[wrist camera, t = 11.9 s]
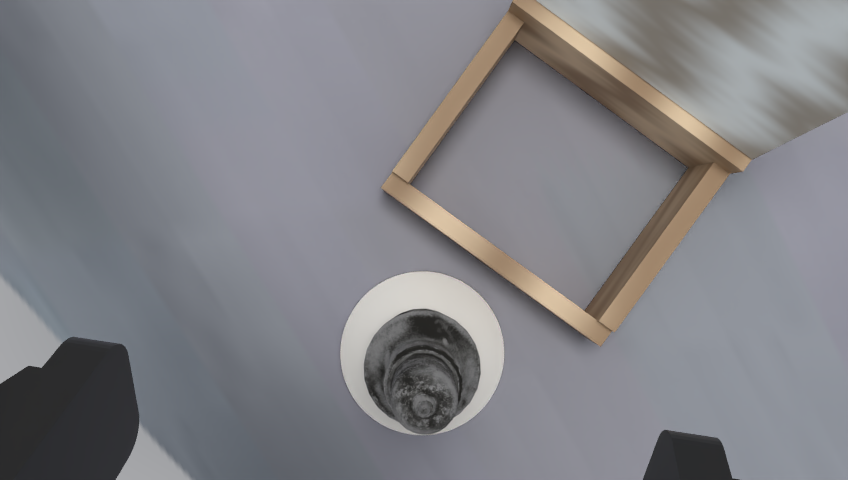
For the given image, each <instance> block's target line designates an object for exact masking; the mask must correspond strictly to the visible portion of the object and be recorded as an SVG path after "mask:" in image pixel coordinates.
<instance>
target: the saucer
mask: <svg viewBox="0 0 848 480" xmlns="http://www.w3.org/2000/svg"><path fill="white" fill-rule="evenodd" d="M412 309H430V310H435V311H438V312H440V313H442V314H444V315H446V316H448V317H450V318H452V319H454V320H456V321H457V322H458V323H459V324H460V325H461V326H462V327H463V328H465V329H466V330H467V331H468V333H469V335H470V336H471V338H472V339H473V341H474V342H475V344H476V347H477V350H478V353H479V357H480V368H481V375H480V379H479V384H478V389H477V391H476V392H475V394H474V396H473V398H472V400H471V402H470V403H469V404H468V405H467V407H466V408H465V409H464V410H463V411H462V412H461V413H460V414H459V415H457V416H456V417H454V418H453V420H452V421H451V422H450V423H449V424H448V425H447V426H446V427H445V428H444V429H442V430H441V431H439V432H436V433H433V434H439V433H443V432H447V431H449V430H452V429H455V428H457V427H459V426H461V425H463V424H464V423H466V422H468V421H469V420H470V419H472V418H473V417H474V416H476V415H477V414H478V413H479V412H480V411H481V410H482V409H483V408H484V406H485V405H486V404H487V403H488V402H489V400H490V399H491V397H492V395H493V394H494V392H495V390H496V388H497V386H498V383H499V381H500V377H501V374H502V370H503V364H504V342H503V337H502V332H501V329H500V326H499V323H498V321H497V319H496V317H495V315H494V313H493V311H492V310H491V308H490V307H489V305H488V304H487V302H486V301H485V300H484V299H483V298H482V297H481V296H480V295H479V294H478V293H477V292H476V291H475V290H474V289H472V288H471V287H470V286H468V285H467V284H465V283H464V282H462V281H460V280H458V279H456V278H454V277H452V276H449V275H445V274H442V273H437V272H431V271H415V272H408V273H403V274H399V275H396V276H394V277H391V278H388V279H387V280H385V281H383V282H381V283H379V284H378V285H376V286H375V287H374V288H372V289H371V290H370V291H369V292H368V293H367V294H365V295H364V296H363V297H362V299H361V300H360V301H359V302H358V304H357V305H356V306H355V308H354V309H353V311H352V313H351V314H350V316H349V318H348V320H347V323H346V325H345V328H344V331H343V335H342V340H341V350H340V358H341V368H342V372H343V376H344V379H345V382H346V385H347V387H348V389H349V391H350V393H351V395H352V397H353V398H354V400H355V401H356V402H357V404H358V405H359V406H360V407H361V408H362V409H363V411H364V412H365V413H366V414H368V415H369V416H370V417H371V418H372V419H374V420H375V421H377V422H378V423H380V424H382V425H383V426H385V427H387V428H390V429H392V430H395V431H398V432H401V433H405V434H411V435H421V434H417V433H413V432H411V431H409V430H407V429H406V428H404V427H403V426H402V425H401V424H400V423H399V422H397V421H395V420H393V419H391V418H389V417H388V416H387V415H386V414H385V413H384V412H382V411H381V410H380V409H379V408H378V407H377V406H376V404H375V402H374V401H373V399H372V398H371V396H370V395H369V392H368V389H367V386H366V383H365V380H364V360H365V356H366V351H367V348H368V346H369V344H370V342H371V340H372V338H373V336H374V335H375V334H376V333H377V331H378V330H379V329H380V328H381V327H382V326H383V325H384V324H385V323H387V322H388V321H390V320H391V319H392V318H394V317H395V316H397V315H399V314H400V313H403V312H406V311H409V310H412ZM433 434H427V435H433Z"/></svg>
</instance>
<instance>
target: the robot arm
mask: <svg viewBox="0 0 848 480" xmlns="http://www.w3.org/2000/svg"><path fill="white" fill-rule="evenodd" d="M138 428H139V412H138V406H137V401H136V395H135V390H134V384H133V379H132V373H131V367H130V362H129V356H128V352H127V350H126V348H125V347H124V346H123V345H122V344H116V343H110V342H103V341H97V340H90V339H84V338H77V337H71V338H69V339H67V340H66V341H64V342H63V343H62V344H61V345H60V347H59V348H58V349H57V350H56V351H55V353H54V354H53V355H52V356H51V358H50V359H49V360H48V361H47V362H46V364H45V365H44V366H43V367H42V368H39V367H32V366H28V367H26V368H24V369H23V370H21V371H20V372H18V373H17V374H15V375H14V376H12V377H10V378H9V379H7V380H6V381H4V382H3V383H1V384H0V480H116V478H117V476H118V475H119V473H120V471H121V470H122V467H123V466H124V464H125V463H126V461H127V459H128V458H129V456H130V454H131V452H132V449H133V447H134V444H135V441H136V438H137V433H138ZM643 480H738V479H732V476H731V472H730V469H729V465H728V462H727V458H726V454H725V451H724V448H723V445H722V443H721V441H720V440H719V439H718V438H714V437H708V436H701V435H695V434H688V433H682V432H675V431H669V430H664V431H662V432H661V434H660V436H659V438H658V440H657V443H656V446H655V448H654V451H653V454H652V456H651V459H650V462H649V464H648V467H647V470H646V473H645V475H644V478H643Z"/></svg>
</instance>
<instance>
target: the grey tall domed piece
mask: <svg viewBox="0 0 848 480" xmlns="http://www.w3.org/2000/svg"><path fill="white" fill-rule="evenodd" d="M480 375H481V368H480V357H479V353H478V350H477V347H476V344H475V342H474V341H473V339H472V338H471V336H470V335H469V333H468V331H467V330H466V329H465V328H463V327H462V326H461V325H460V324H459V323H458V322H457V321H456V320H454V319H452V318H450V317H448V316H446V315H444V314H442V313H440V312H438V311H435V310H430V309H412V310H409V311H406V312H403V313H400V314H399V315H397V316H395V317H394V318H392V319H391V320H390V321H388V322H387V323H385V324H384V325H383V326H382V327H381V328H380V329H379V330H378V331H377V333H376V334H375V335H374V336H373V338H372V340H371V342H370V344H369V346H368V348H367V351H366V356H365V360H364V380H365V383H366V386H367V389H368V392H369V395H370V396H371V398H372V399H373V401H374V402H375V404H376V406H377V407H378V408H379V409H380V410H381V411H382V412H384V413H385V414H386V415H387V416H388V417H389V418H391V419H393V420H395V421H397V422H399V423H400V424H401V425H402V426H403V427H404V428H406V429H407V430H409V431H411V432H413V433H417V434H421V435H427V434H433V433H436V432H439V431H441V430H442V429H444V428H445V427H446V426H447V425H448V424H449V423H450V422H451V421H452V420H453V418H454V417H456V416H457V415H459V414H460V413H461V412H462V411H463V410H464V409H465V408H466V407H467V405H468V404H469V403H470V402H471V400H472V398H473V396H474V394H475V392H476V391H477V389H478V384H479V379H480Z"/></svg>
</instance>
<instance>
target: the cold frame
mask: <svg viewBox="0 0 848 480" xmlns="http://www.w3.org/2000/svg"><path fill="white" fill-rule="evenodd" d="M514 40H515V41H517V42H518V43H519V44H521V45H522V46H523V47H525V48H526V49H527V50H529V51H530V52H532V53H533V54H534V55H536V56H537V57H538V58H540V59H541V60H542V61H544V62H545V63H547V64H548V65H549V66H551V67H552V68H553V69H555V70H556V71H557V72H559V73H560V74H562V75H563V76H564V77H566V78H567V79H568V80H570V81H571V82H572V83H574V84H575V85H577V86H578V87H579V88H581V89H582V90H583V91H585V92H586V93H587V94H589V95H590V96H592V97H593V98H594V99H596V100H597V101H598V102H600V103H601V104H602V105H604V106H605V107H606V108H608V109H609V110H611V111H612V112H613V113H615V114H616V115H617V116H619V117H620V118H621V119H623V120H624V121H626V122H627V123H628V124H630V125H631V126H632V127H634V128H635V129H636V130H638V131H639V132H641V133H642V134H643V135H645V136H646V137H647V138H649V139H650V140H651V141H653V142H654V143H656V144H657V145H658V146H660V147H661V148H662V149H664V150H665V151H666V152H668V153H669V154H671V155H672V156H673V157H675V158H676V159H677V160H679V161H680V162H681V163H683V164H684V165H686V166H687V167H688V169H687V170H686V172H685V173H684V174H683V176H682V177H681V179H680V180H679V181H678V183H677V184H676V185H675V187H674V188H673V190H672V191H671V192H670V194H669V195H668V197H667V198H666V199H665V201H664V202H663V203H662V205H661V206H660V208H659V209H658V210H657V212H656V213H655V214H654V216H653V217H652V219H651V220H650V221H649V223H648V224H647V225H646V227H645V228H644V230H643V231H642V232H641V234H640V235H639V236H638V238H637V239H636V241H635V242H634V243H633V245H632V246H631V247H630V249H629V250H628V252H627V253H626V254H625V256H624V257H623V259H622V260H621V261H620V263H619V264H618V265H617V267H616V268H615V270H614V271H613V272H612V274H611V275H610V276H609V278H608V279H607V281H606V282H605V283H604V285H603V286H602V287H601V289H600V290H599V292H598V293H597V294H596V296H595V297H594V298H593V300H592V301H591V303H590V304H589V305H588V307H587V308H586V309H585V311H584V310H582V309H581V308H580V307H578V306H577V305H575V304H574V303H573V302H571V301H570V300H569V299H567V298H566V297H564V296H563V295H562V294H560V293H559V292H557V291H556V290H555V289H553V288H552V287H551V286H549V285H548V284H546V283H545V282H544V281H542V280H541V279H540V278H538V277H537V276H535V275H534V274H533V273H531V272H530V271H529V270H527V269H526V268H524V267H523V266H522V265H520V264H519V263H518V262H516V261H515V260H513V259H512V258H511V257H509V256H508V255H506V254H505V253H504V252H502V251H501V250H500V249H498V248H497V247H495V246H494V245H493V244H491V243H490V242H489V241H487V240H486V239H484V238H483V237H482V236H480V235H479V234H478V233H476V232H475V231H473V230H472V229H471V228H469V227H468V226H467V225H465V224H464V223H462V222H461V221H460V220H458V219H457V218H455V217H454V216H453V215H451V214H450V213H449V212H447V211H446V210H444V209H443V208H442V207H440V206H439V205H438V204H436V203H435V202H433V201H432V200H431V199H429V198H428V197H427V196H425V195H424V194H422V193H421V192H420V191H418V190H417V189H416V188H414V187H413V186H411V185H410V184H411V183H412V181H413V180H414V178H415V177H416V176H417V174H418V173H419V172H420V170H421V169H422V167H423V166H424V165H425V163H426V162H427V160H428V159H429V158H430V156H431V155H432V154H433V152H434V151H435V149H436V148H437V147H438V145H439V144H440V143H441V141H442V140H443V138H444V137H445V136H446V134H447V133H448V131H449V130H450V129H451V127H452V126H453V125H454V123H455V122H456V120H457V119H458V118H459V116H460V115H461V113H462V112H463V111H464V109H465V108H466V107H467V105H468V104H469V102H470V101H471V100H472V98H473V97H474V96H475V94H476V93H477V91H478V90H479V89H480V87H481V86H482V84H483V83H484V82H485V80H486V79H487V78H488V76H489V75H490V73H491V72H492V71H493V69H494V68H495V66H496V65H497V64H498V62H499V61H500V60H501V58H502V57H503V55H504V54H505V53H506V51H507V50H508V49H509V47H510V46H511V44H512V43H513V42H514ZM847 112H848V0H513V1H512V3H511V6H510V8H509V10H508V12H507V13H506V15H505V16H504V17H503V19H502V20H501V21H500V23H499V24H498V26H497V27H496V28H495V30H494V31H493V33H492V34H491V35H490V37H489V38H488V39H487V41H486V42H485V44H484V45H483V46H482V48H481V49H480V51H479V52H478V53H477V55H476V56H475V57H474V59H473V60H472V62H471V63H470V64H469V66H468V67H467V68H466V70H465V71H464V73H463V74H462V75H461V77H460V78H459V80H458V81H457V82H456V84H455V85H454V86H453V88H452V89H451V91H450V92H449V93H448V95H447V96H446V98H445V99H444V100H443V102H442V103H441V104H440V106H439V107H438V109H437V110H436V111H435V113H434V114H433V116H432V117H431V118H430V120H429V121H428V122H427V124H426V125H425V127H424V128H423V129H422V131H421V132H420V133H419V135H418V136H417V138H416V139H415V140H414V142H413V143H412V145H411V146H410V147H409V149H408V150H407V151H406V153H405V154H404V156H403V157H402V158H401V160H400V161H399V163H398V164H397V165H396V167H395V168H394V169H393V171H392V173H391V175H390V176H389V177H388V179H387V180H386V182H385V183H384V184H383V186H382V187H381V188H382V189H383V191H385V192H386V193H388V194H389V195H390V196H392V197H393V198H394V199H396V200H397V201H399V202H400V203H401V204H403V205H404V206H406V207H407V208H408V209H410V210H411V211H412V212H414V213H415V214H417V215H418V216H419V217H421V218H422V219H423V220H425V221H426V222H428V223H429V224H430V225H432V226H433V227H434V228H436V229H437V230H439V231H440V232H441V233H443V234H444V235H446V236H447V237H448V238H450V239H451V240H452V241H454V242H455V243H457V244H458V245H459V246H461V247H462V248H463V249H465V250H466V251H468V252H469V253H470V254H472V255H473V256H475V257H476V258H477V259H479V260H480V261H481V262H483V263H484V264H486V265H487V266H488V267H490V268H491V269H492V270H494V271H495V272H497V273H498V274H499V275H501V276H502V277H504V278H505V279H506V280H508V281H509V282H510V283H512V284H513V285H515V286H516V287H517V288H519V289H520V290H521V291H523V292H524V293H526V294H527V295H528V296H530V297H531V298H532V299H534V300H535V301H537V302H538V303H539V304H541V305H542V306H544V307H545V308H546V309H548V310H549V311H550V312H552V313H553V314H555V315H556V316H557V317H559V318H560V319H561V320H563V321H564V322H566V323H567V324H568V325H570V326H571V327H573V328H574V329H575V330H577V331H578V332H579V333H581V334H582V335H584V336H585V337H586V338H588V339H589V340H591V341H593V342H594V343H596V344H597V345H599V346H600V347H601V345H602V344H603V343H604V341H605V340H606V338H607V337H608V336H609V334H610V333H611V332H612V331H613V332H615V331H616V330H617V328H618V327H619V326H620V324H621V323H622V321H623V320H624V319H625V317H626V316H627V315H628V313H629V312H630V310H631V309H632V308H633V306H634V305H635V304H636V302H637V301H638V299H639V298H640V297H641V295H642V294H643V293H644V291H645V290H646V288H647V287H648V286H649V284H650V283H651V282H652V280H653V279H654V277H655V276H656V275H657V273H658V272H659V271H660V269H661V268H662V266H663V265H664V264H665V262H666V261H667V260H668V258H669V257H670V255H671V254H672V253H673V251H674V250H675V248H676V247H677V246H678V244H679V243H680V242H681V240H682V239H683V237H684V236H685V235H686V233H687V232H688V231H689V229H690V228H691V226H692V225H693V224H694V222H695V221H696V220H697V218H698V217H699V215H700V214H701V213H702V211H703V210H704V209H705V207H706V206H707V204H708V203H709V202H710V200H711V199H712V198H713V196H714V195H715V193H716V192H717V191H718V189H719V188H720V187H721V185H722V184H723V182H724V181H725V180H726V178H727V177H728V176H729V174H731V173H737V172H743V171H744V169H745V168H746V167H747V165H748V164H749V163H750V161H751V160H753V159H755V158H757V157H759V156H761V155H763V154H765V153H767V152H769V151H771V150H773V149H775V148H777V147H779V146H781V145H783V144H785V143H787V142H789V141H791V140H793V139H795V138H797V137H799V136H801V135H803V134H805V133H807V132H809V131H811V130H813V129H815V128H817V127H819V126H821V125H823V124H825V123H827V122H829V121H831V120H833V119H835V118H837V117H839V116H841V115H843V114H845V113H847Z"/></svg>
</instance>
